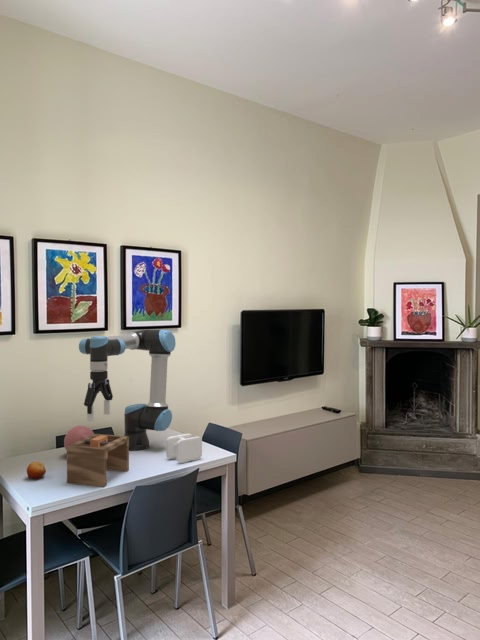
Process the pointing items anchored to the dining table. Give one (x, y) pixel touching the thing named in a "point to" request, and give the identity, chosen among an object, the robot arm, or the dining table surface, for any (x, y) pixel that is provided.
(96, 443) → the orange arch block
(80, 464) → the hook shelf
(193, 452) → the cable organizer
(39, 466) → the fruit
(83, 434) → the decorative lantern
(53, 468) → the dining table surface
